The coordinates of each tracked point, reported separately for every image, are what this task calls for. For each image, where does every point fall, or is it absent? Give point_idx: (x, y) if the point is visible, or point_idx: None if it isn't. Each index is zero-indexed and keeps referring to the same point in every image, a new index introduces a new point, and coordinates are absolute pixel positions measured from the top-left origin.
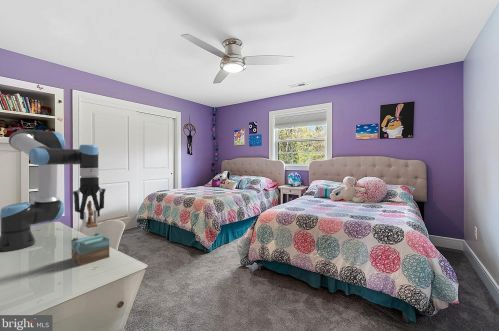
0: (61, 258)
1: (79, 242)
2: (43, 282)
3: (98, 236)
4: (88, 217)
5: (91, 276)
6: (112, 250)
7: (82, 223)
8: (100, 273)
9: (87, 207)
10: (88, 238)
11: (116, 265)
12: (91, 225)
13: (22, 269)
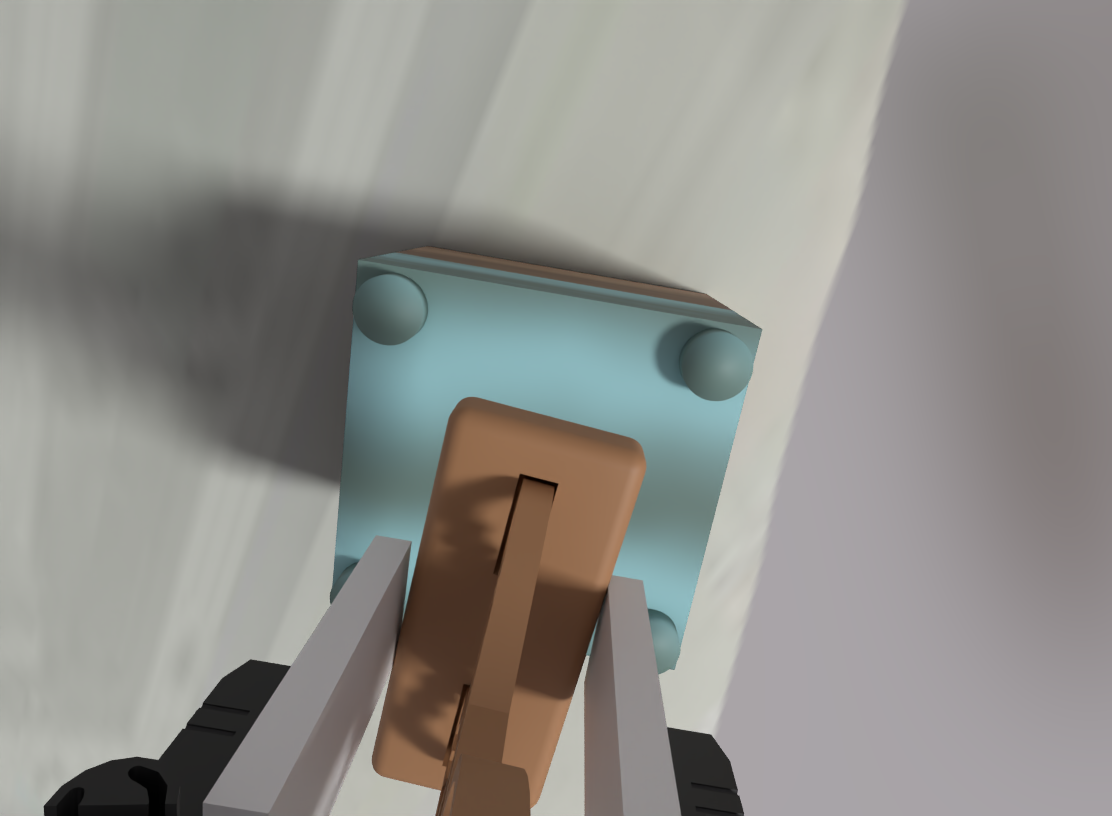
0: (370, 118)
1: (381, 474)
2: (110, 556)
3: (673, 444)
4: (492, 626)
5: (357, 752)
6: (787, 406)
7: (357, 571)
8: None
9: (464, 805)
10: (542, 404)
11: (562, 747)
12: (432, 785)
13: (30, 78)
